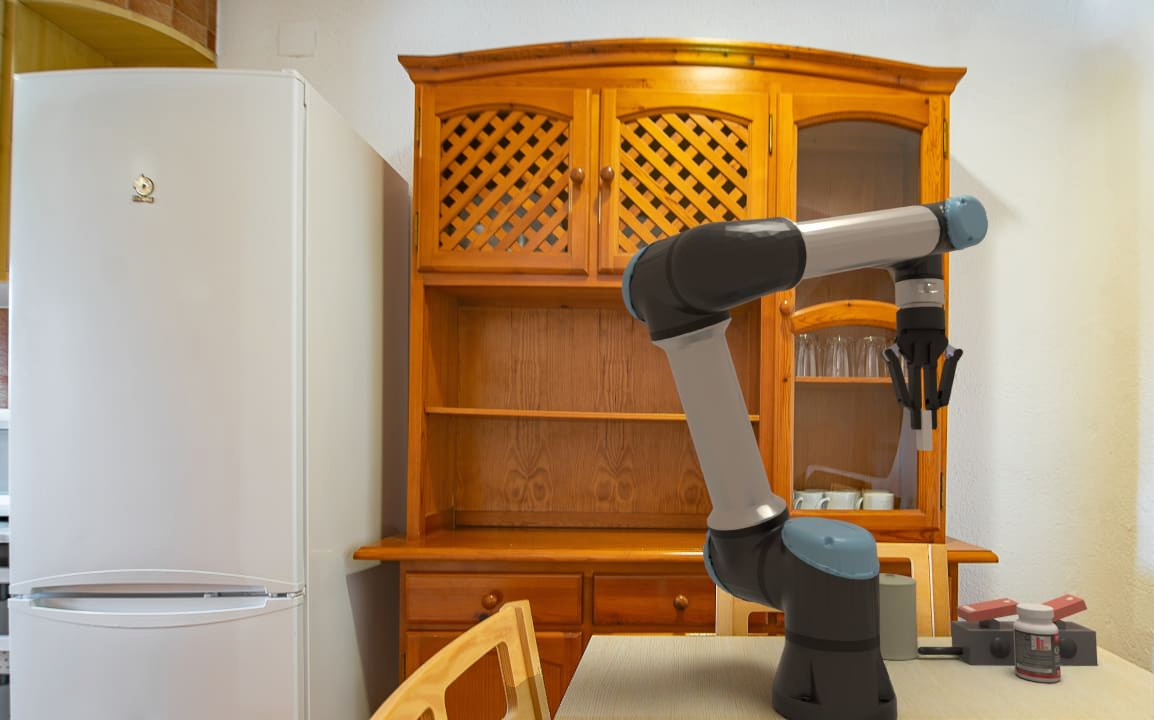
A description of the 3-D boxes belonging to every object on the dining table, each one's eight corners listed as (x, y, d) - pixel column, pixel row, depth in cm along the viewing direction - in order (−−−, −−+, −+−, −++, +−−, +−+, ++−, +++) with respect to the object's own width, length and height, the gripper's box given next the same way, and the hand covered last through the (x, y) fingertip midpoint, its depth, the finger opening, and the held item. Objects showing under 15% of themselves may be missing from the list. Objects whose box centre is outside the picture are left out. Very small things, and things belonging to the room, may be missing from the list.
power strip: (926, 664, 119) (925, 623, 120) (910, 653, 125) (909, 613, 126) (1098, 665, 119) (1095, 624, 120) (1073, 653, 125) (1071, 614, 126)
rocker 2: (1038, 627, 121) (1034, 617, 121) (1024, 620, 125) (1020, 611, 125) (1087, 609, 121) (1083, 599, 121) (1071, 603, 125) (1067, 593, 125)
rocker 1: (970, 622, 121) (968, 612, 121) (958, 616, 125) (956, 606, 125) (1022, 613, 121) (1019, 603, 121) (1008, 607, 125) (1005, 597, 125)
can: (923, 649, 127) (921, 573, 128) (913, 664, 120) (911, 583, 121) (864, 641, 132) (862, 568, 133) (850, 654, 125) (848, 576, 126)
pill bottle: (1067, 685, 110) (1064, 612, 111) (1023, 682, 111) (1020, 610, 112) (1051, 672, 116) (1048, 603, 117) (1009, 669, 117) (1006, 601, 118)
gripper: (888, 304, 129) (893, 450, 127) (970, 304, 128) (975, 451, 126) (872, 311, 136) (876, 449, 134) (949, 311, 136) (954, 449, 134)
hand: (924, 450), depth 130 cm, fingers closed
